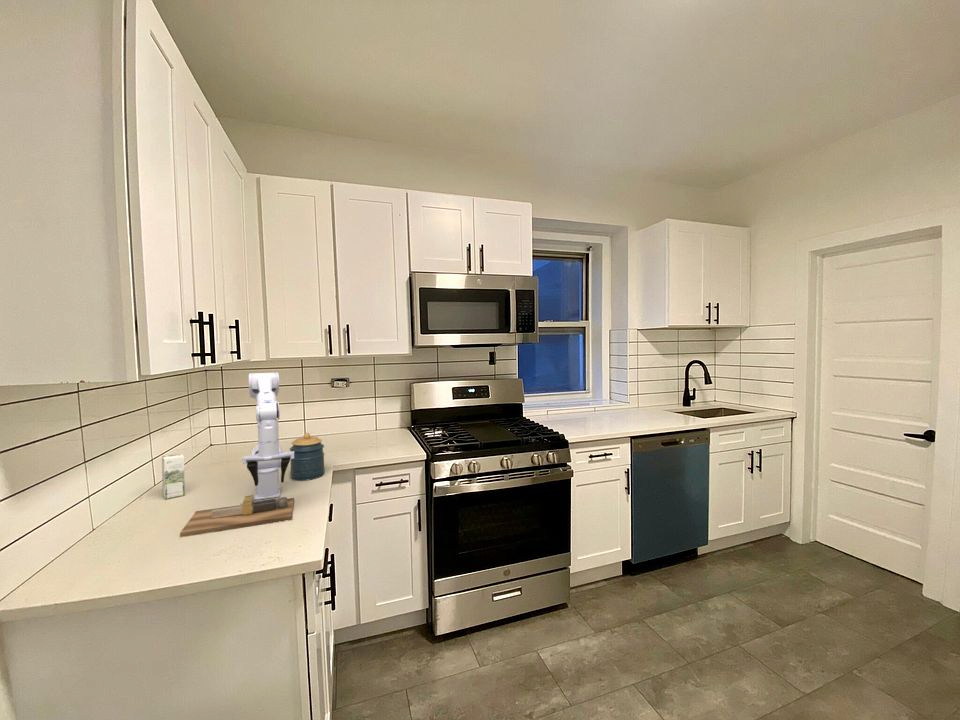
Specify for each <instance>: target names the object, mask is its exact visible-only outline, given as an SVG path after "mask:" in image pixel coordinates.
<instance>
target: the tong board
mask: <svg viewBox="0 0 960 720" xmlns="http://www.w3.org/2000/svg"><path fill="white" fill-rule="evenodd" d="M273 501H275V504H276V508H275V510H270V511H263V512H256V513H252V514H248V515H243V514H240V515H233V516H226V517H219V518H212V516H211V512H212V510H216V509H224V508H231V507H238V506H242V503H240V504H239V505H231V506H226V507H225V506H224V507H217V508H210V509H203V510H202V509H201V510H196V511H195V512H194V514H193V515H192V516H191V517H190V518H189V520H188V521H187V523H186V524H185V526H184V527H183V528H182V529H181V531H180V533H179V537H180V538H182V537H183V538H184V537H190V536H195V535H203V534H209V533H215V532H216V531H217V532H221V531H223V532H224V531H228V530H233V529H234V530H236V529H241V528H248V527H253V526H254V527H255V526H261V525H266V524H267V523H268V524H273V523H274V522H275V523H280V522H279V521H281V522H286V521H285V520H288V521H292V519H291V518H293V512H292V511H294V506H293V505H294V504H295V497H291V498H288V497H286V496H285V497H284V496H283V497H278V498H268V499H261V500H255V502H253V504H258V503H265V502H273Z"/></svg>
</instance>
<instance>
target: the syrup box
mask: <svg viewBox="0 0 960 720" xmlns="http://www.w3.org/2000/svg"><path fill="white" fill-rule="evenodd" d="M161 469H162V470H161V473H162V475H161V477H162V496H163V497H164V500H170V499H174V498H178V497H179V498H180V497H182V496H185V495H186V494H185V493H186V490H185V489H186V487H185V486H186V483H185V482H186V481H185V480H186V479H185V456H184V455H183V454H182V453H180V452H179V453H173V454H167V455H162V456H161Z"/></svg>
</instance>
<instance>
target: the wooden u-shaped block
mask: <svg viewBox="0 0 960 720" xmlns="http://www.w3.org/2000/svg"><path fill="white" fill-rule="evenodd" d="M254 496H255V494H251V495H245V496H244V499H243V501H242V503H241V504H242V510H243V515H248V514H252V505H253V502H255V501H256V500H255V499H254Z"/></svg>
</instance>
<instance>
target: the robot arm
mask: <svg viewBox="0 0 960 720" xmlns="http://www.w3.org/2000/svg"><path fill="white" fill-rule="evenodd" d="M279 388H280V373H279V372H277V371H275V372H260V373H259V372H256V373H255V372H254V373H252V372H250V373H249V374H248V390H249V396H250V398H252V399H254V400H256V406H255V418H256V424H257V442H258V444H256V445H255V446H254V447H253V448H251V451H250V453H251V455H244V456H243V455H242V457H241V459H242V461H241V463H242V465H244V464H245V465H246V468H247V470H248V471H249V473H250V474H251V477H252V479H253V483H254V486H255V494H254V499H255V501H260V500H268V499H275V498H280V496H281V491H282V487H281V486H280V483H281V484H283V483H284V482H285V475H286V471H287V468H288V466H289V464H290V459H294V451H293V452H291V451H282V446H281V444H280V440H279V420H280V416H281V411H280V410H281V408H280V404H279V401H277V396H278V395H279V390H280V389H279ZM279 471H281V472H279ZM279 473H281V474H280V479H279ZM279 480H280V481H279Z"/></svg>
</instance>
